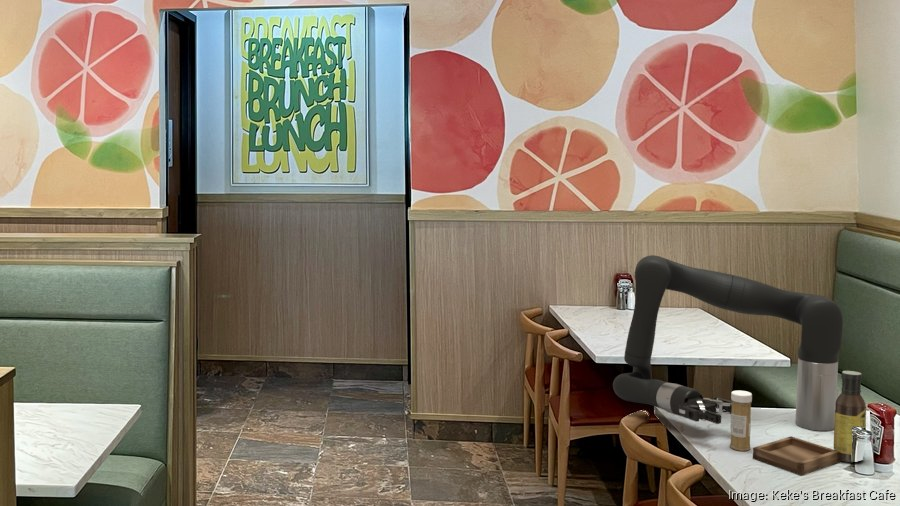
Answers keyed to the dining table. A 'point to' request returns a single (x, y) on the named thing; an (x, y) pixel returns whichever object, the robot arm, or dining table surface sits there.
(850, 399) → the sauce bottle
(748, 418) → the sprinkles bottle
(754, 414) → the dining table surface
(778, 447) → the tray
